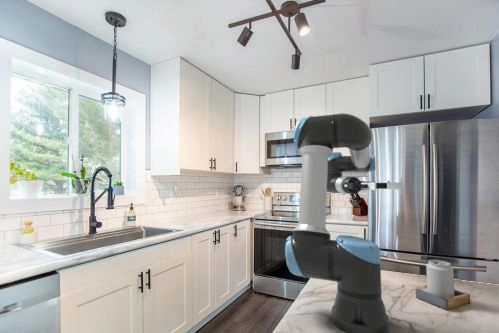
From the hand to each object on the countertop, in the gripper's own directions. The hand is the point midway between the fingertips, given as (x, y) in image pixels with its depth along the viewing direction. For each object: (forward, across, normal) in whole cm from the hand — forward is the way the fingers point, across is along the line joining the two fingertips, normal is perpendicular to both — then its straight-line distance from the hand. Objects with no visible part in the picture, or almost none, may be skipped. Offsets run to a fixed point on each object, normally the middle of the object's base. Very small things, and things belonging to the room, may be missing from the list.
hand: (389, 186), depth 101 cm
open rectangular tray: (+13, -8, -38) cm, 41 cm away
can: (+12, -8, -38) cm, 40 cm away
